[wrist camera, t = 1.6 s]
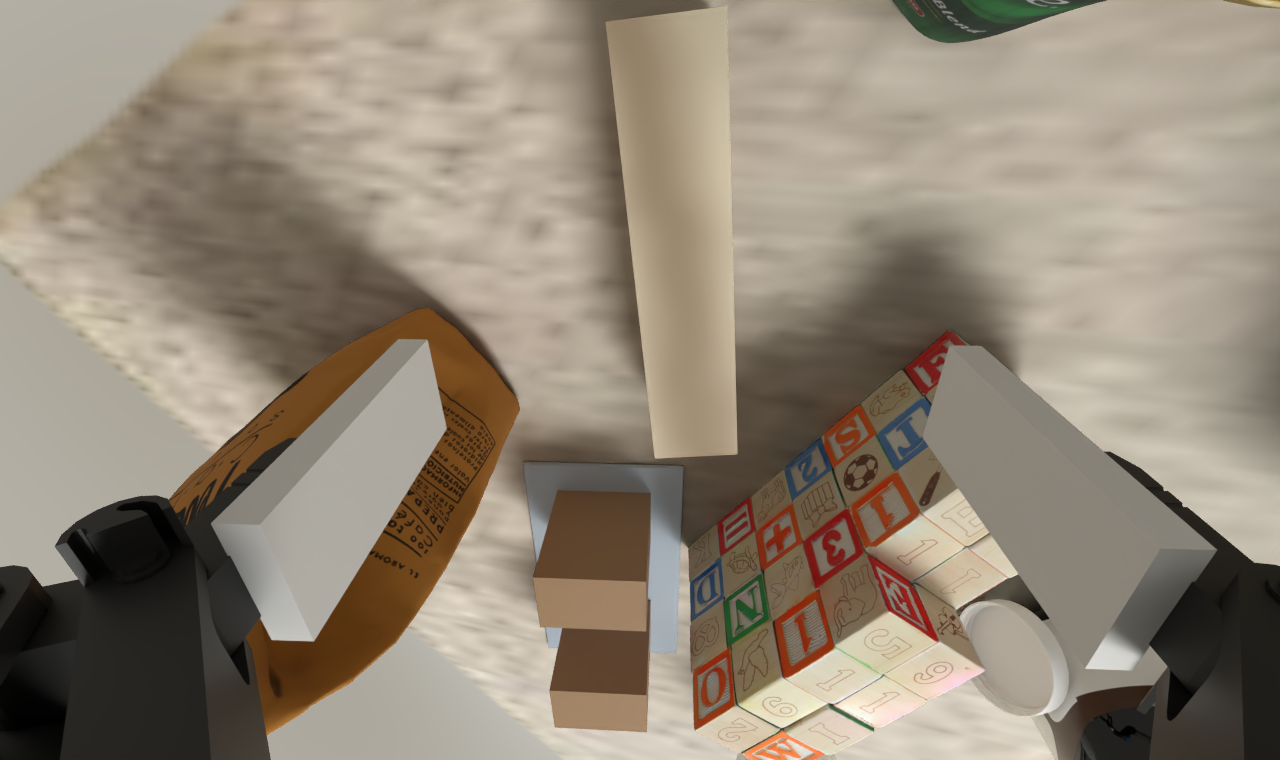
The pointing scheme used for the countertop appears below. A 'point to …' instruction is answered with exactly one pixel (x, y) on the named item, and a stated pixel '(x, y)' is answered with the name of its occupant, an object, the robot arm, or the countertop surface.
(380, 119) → the countertop surface
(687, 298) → the bar
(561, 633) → the build board
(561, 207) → the countertop surface
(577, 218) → the countertop surface
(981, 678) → the spread jar
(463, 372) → the coffee package
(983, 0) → the coffee jar
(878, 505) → the stack of blocks
